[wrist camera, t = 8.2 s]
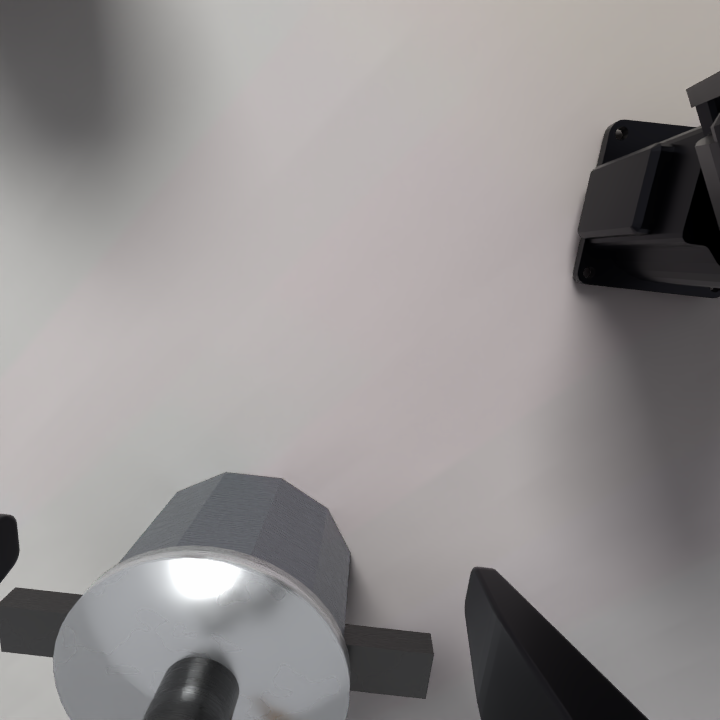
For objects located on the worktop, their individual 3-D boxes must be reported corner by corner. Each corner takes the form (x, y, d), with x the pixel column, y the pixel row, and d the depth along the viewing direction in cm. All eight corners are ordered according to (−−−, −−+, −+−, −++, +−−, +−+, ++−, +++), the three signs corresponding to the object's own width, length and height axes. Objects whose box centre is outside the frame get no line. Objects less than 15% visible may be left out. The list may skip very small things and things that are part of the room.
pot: (431, 495, 22) (452, 582, 16) (403, 661, 24) (413, 788, 19) (76, 455, 22) (-32, 528, 16) (87, 625, 24) (-3, 742, 19)
